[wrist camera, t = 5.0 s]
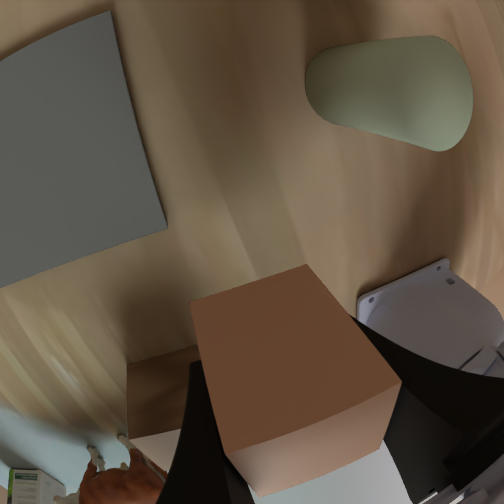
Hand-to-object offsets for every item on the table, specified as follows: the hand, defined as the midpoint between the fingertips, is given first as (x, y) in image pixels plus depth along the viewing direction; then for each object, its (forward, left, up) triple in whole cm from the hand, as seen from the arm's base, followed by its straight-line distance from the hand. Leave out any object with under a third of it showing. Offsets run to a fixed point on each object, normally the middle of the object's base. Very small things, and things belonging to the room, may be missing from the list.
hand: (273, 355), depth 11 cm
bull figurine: (+16, +16, -8) cm, 24 cm away
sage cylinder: (-8, -8, -8) cm, 14 cm away
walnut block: (+6, +8, -8) cm, 13 cm away
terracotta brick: (0, 0, -2) cm, 2 cm away
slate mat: (+8, -9, -8) cm, 14 cm away
